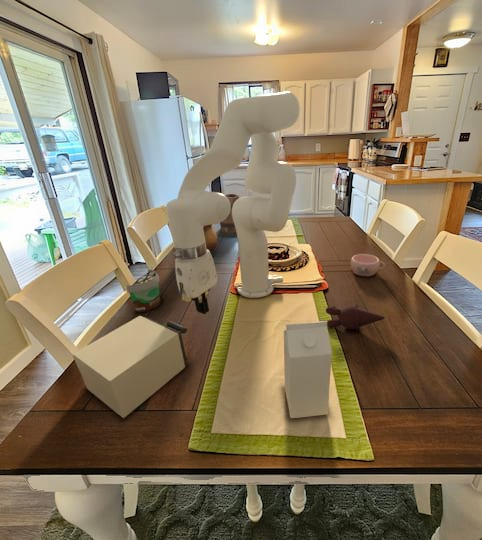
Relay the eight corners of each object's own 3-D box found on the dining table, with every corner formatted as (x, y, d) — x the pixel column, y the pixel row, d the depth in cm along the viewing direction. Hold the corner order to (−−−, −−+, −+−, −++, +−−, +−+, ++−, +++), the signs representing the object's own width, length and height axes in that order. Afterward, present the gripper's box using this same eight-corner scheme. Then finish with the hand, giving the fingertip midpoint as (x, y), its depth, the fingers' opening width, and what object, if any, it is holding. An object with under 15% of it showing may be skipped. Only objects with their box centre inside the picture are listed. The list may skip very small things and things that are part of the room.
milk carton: (284, 388, 60) (283, 313, 52) (318, 385, 61) (321, 309, 53) (290, 419, 54) (289, 338, 46) (327, 415, 54) (333, 334, 46)
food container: (151, 316, 87) (144, 287, 83) (133, 314, 88) (125, 286, 84) (171, 295, 98) (165, 269, 94) (155, 294, 99) (148, 268, 95)
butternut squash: (224, 251, 134) (219, 197, 123) (205, 261, 123) (196, 203, 113) (202, 246, 140) (195, 194, 130) (182, 256, 130) (172, 200, 120)
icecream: (382, 300, 78) (325, 300, 81) (387, 309, 71) (324, 309, 74) (382, 325, 79) (326, 324, 83) (387, 335, 72) (325, 334, 75)
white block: (148, 347, 74) (139, 315, 70) (185, 367, 67) (178, 333, 63) (87, 388, 63) (72, 353, 58) (123, 418, 56) (109, 381, 51)
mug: (350, 278, 104) (351, 263, 101) (349, 266, 112) (350, 252, 110) (385, 280, 101) (388, 265, 99) (381, 268, 110) (384, 254, 107)
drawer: (166, 333, 78) (160, 308, 74) (199, 349, 71) (194, 323, 68) (98, 379, 64) (87, 351, 60) (131, 404, 57) (121, 375, 54)
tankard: (213, 236, 154) (208, 199, 145) (222, 227, 168) (219, 192, 160) (255, 237, 149) (253, 198, 140) (262, 228, 164) (260, 192, 155)
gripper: (178, 265, 63) (192, 331, 72) (222, 242, 74) (230, 301, 82) (156, 258, 67) (172, 322, 75) (201, 237, 78) (211, 295, 86)
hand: (203, 311), depth 79 cm, fingers closed
